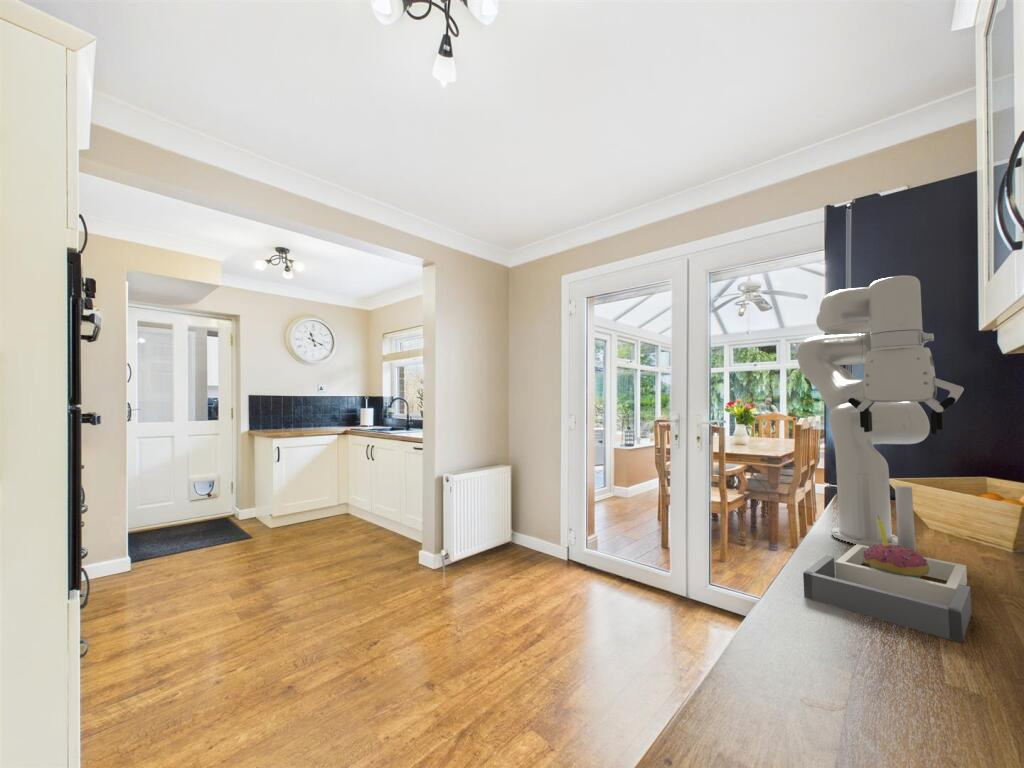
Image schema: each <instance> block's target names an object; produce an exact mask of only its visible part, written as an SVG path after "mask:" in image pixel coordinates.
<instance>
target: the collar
mask: <svg viewBox="0 0 1024 768" xmlns="http://www.w3.org/2000/svg"><path fill="white" fill-rule="evenodd" d="M894 492H895V493H894V494H895V513H896V533H897V535H896V536H897V538H898V546H901V547H904V548H905V547H906V548H909V549H912V550H913V551H915V552H916V540H915V521H914V502H913V501H914V499H913V496H914V495H913V487H912V486H908V485H895V486H894ZM866 548H867V549H868V548H869V546H864V545H859V544H856V545H855V544H854V546H852V547H851V548H850V549H849V550H847V551H846V552H845V553H844V554H842V555H841V556H840V557H839V558H837V559H836V560H835V578H836V579H840V580H844V581H848V582H852V583H856V584H860V585H864V586H868V587H872V588H876V589H880V590H884V591H888V592H892V593H896V594H900V595H904V596H908V597H912V598H916V599H920V600H924V601H928V602H932V603H936V604H940V605H944V606H948V607H950V604H951V602H952V600H953V597H954V595H955V593H956V590H957V588H958V586H959V584H961V585H965V586H967V584H968V577H967V576H968V573H967V564H961V563H955V562H951V561H945V560H940V559H935V558H931V557H924V556H923V557H924V559H926V560H927V561H926V562H927V563H928V565H929V573H928V574H925V575H923V576H924V577H929V578H935V579H939V580H943V581H946V583H941V582H937V581H932V580H927V579H923V578H915V577H910V576H906V575H900V574H899V575H897V574H895V573H890V572H886V571H881V570H879V569H875V568H871V566H870V567H869V566H865V565H862V564H863V563H865V564H867V563H866V562H865V559H864V556H863V554H864V551H866V550H867V549H866Z"/></svg>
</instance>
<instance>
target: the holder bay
mask: <svg viewBox="0 0 1024 768" xmlns="http://www.w3.org/2000/svg"><path fill="white" fill-rule="evenodd" d="M835 561H836V560H835V556H833V555H829V554H826V555H824V556H823V557H822V558H821V559H819V560H818V561H817V562H815V563H814V564H812V565H811V566H810V567H809V568H807V569H806V570H805V571H804V572H803V573H802V574H803V575H802V576H803V579H802V580H803V598H804V599H810V600H812V601H817V602H819V603H823V604H826V605H830V606H834V607H837V608H840V609H843V610H846V611H849V612H854V613H858V614H861V615H864V616H868V617H872V618H874V619H878V620H881V621H885V622H888V623H891V624H895V625H899V626H902V627H905V628H908V629H913V630H916V631H919V632H922V633H926V634H929V635H933V636H935V637H936V636H937V637H940V638H943V639H947V640H949V641H954V642H957V643H960V642H961V643H960V644H963V643H964V642H963V641H964V640H963V639H964V638H965V636H966V634H967V633H966V632H967V629H968V626H969V623H970V621H971V618H972V617H971V616H972V614H973V612H972V611H973V609H972V592H971V586H969V585H966V586H965V585H961V584H959V586H958V588H957V590H956V593H955V595H954V597H953V600H952V602H951V604H950V607H948V606H944V605H940V604H936V603H932V602H928V601H924V600H920V599H916V598H912V597H908V596H904V595H900V594H896V593H892V592H888V591H884V590H880V589H876V588H872V587H868V586H864V585H860V584H856V583H852V582H848V581H844V580H840V579H836V572H835ZM962 642H963V643H962Z"/></svg>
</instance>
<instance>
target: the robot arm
mask: <svg viewBox="0 0 1024 768" xmlns="http://www.w3.org/2000/svg"><path fill="white" fill-rule="evenodd" d="M921 295H922V293H921V281H920V280H919V278H917V277H916V276H913V275H896V276H888V277H885V278H880V279H878V280H874V281H873V282H872V283H870V285H869V286H866V287H854V288H845V289H838V290H834V291H832V292H830V293H828V294H826V295H825V296H824V297H823V298H822V300H821V302H820V304H819V305H820V306H819V312H818V314H817V316H816V319H815V320H816V325H817V327H818V329H819V330H820V331H821V332H823V333H825V334H826V335H820V336H819V335H817V336H813V337H809V338H806V339H805V340H802V341H801V343H799V345H798V347H797V351H796V357H797V363H798V365H799V368H800V371H801V373H802V374H803V376H804V377H805V378H806V379H807V380H808V381H809V383H811V384H812V385H813V386H814V387H815V388H816V389H817V391H818V392H819V395H820V396H821V399H822V400H823V403H824V404H825V406H826V407H827V409H828V411H830V413H829V416H828V417H829V426H830V431H831V435H832V440H833V446H834V454H835V466H836V467H835V468H836V469H835V470H836V487H837V489H836V491H837V512H838V513H837V516H838V527H833V528H832V529H830V534H831V533H832V534H833V535H834V536H835V537H837V538H839V539H842V540H844V541H847V542H850V543H849V544H851V543H853V544H852V545H855V544H859V545H864V546H869V547H872V546H874V545H878V544H881V545H882V544H883V541H882V537H881V533H880V529H879V525H878V520H879V519H878V516H879V518H880V520H882V522H883V526H884V530H885V534H886V538H887V542H888V545H892V544H893V545H898V538H897V535H895V534H893V531H892V530H893V529H892V515H891V514H892V513H891V512H892V510H891V490H890V489H891V488H890V471H889V464H888V462H887V460H886V458H885V457H884V456H883V455H882V454H881V453H880V452H879V451H878V450H877V449H876V448H875V447H874V445H913V444H919V443H920V442H923V441H924V440H925V439H927V437H928V436H929V434H930V430H931V435H939V434H940V431H944V429H945V428H944V427H945V425H944V412H945V411H946V410H948V409H949V408H950V407H951V406H953V405H954V404H955V403H957V401H958V400H959V398H960V397H961V395H962V393H963V392H964V390H965V389H964V387H963V386H961V385H957V384H955V383H952V382H948V381H946V380H941V379H940V378H938V377H937V378H936V371H935V364H934V359H933V355H932V352H931V350H930V348H929V347H924V346H925V344H926V343H928V342H934V340H935V336H934V333H928V332H924V331H923V315H922V312H923V311H922V296H921ZM845 365H846V366H847V365H848V366H849V365H851V366H852V365H864V368H863V378H862V379H861V378H860V379H856V378H855V376H854V375H853V374H852V372H850V371H849V370H847V369H846V368H844V367H842V366H845ZM938 388H941V389H944V390H947V391H949V394H948V396H947V398H945V399H944V400H942V401H941V402H939V400H937V399H936V398H937V393H938V392H937V391H938V390H937V389H938ZM919 402H924V404H926V405H927V406H928V407H930V408H931V410H932V411H931V412H930V415H929V416H930V420H929V417H928V415H927V414H926V411H925V410H924V408H923V407H922V406H921V404H920V403H919ZM877 515H878V516H877ZM844 541H843V542H844ZM847 542H846V543H847Z"/></svg>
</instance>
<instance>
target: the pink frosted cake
mask: <svg viewBox="0 0 1024 768" xmlns="http://www.w3.org/2000/svg"><path fill="white" fill-rule="evenodd" d="M877 516H878V515H877ZM878 519H879V520H878V525H879V529H880V533H881V537H882V541H883V544H882V545H881V544H878V545H874V546H872V547H869V548H868V549H867V548H866V549H867V550H866V551H864V554H863V556H864V559H865V562H866V563H865V564H868V565H869V566H870V568H875V569H879V570H881V571H886V572H890V573H895V574H897V575H899V574H900V575H906V576H910V577H915V578H919V579H921V577H922V576H924V575H925V574H928V573H929V565H928V563H927V562H926V561H927V560H926V559H924V556H922V555H920V553H919V552H917V551H916V550H915V551H913V550H912V549H909V548H906V547H905V548H904V547H901V546H898V545H893V544H892V545H888V542H887V538H886V534H885V530H884V526H883V522H882V520H880V518H879V516H878Z"/></svg>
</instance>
